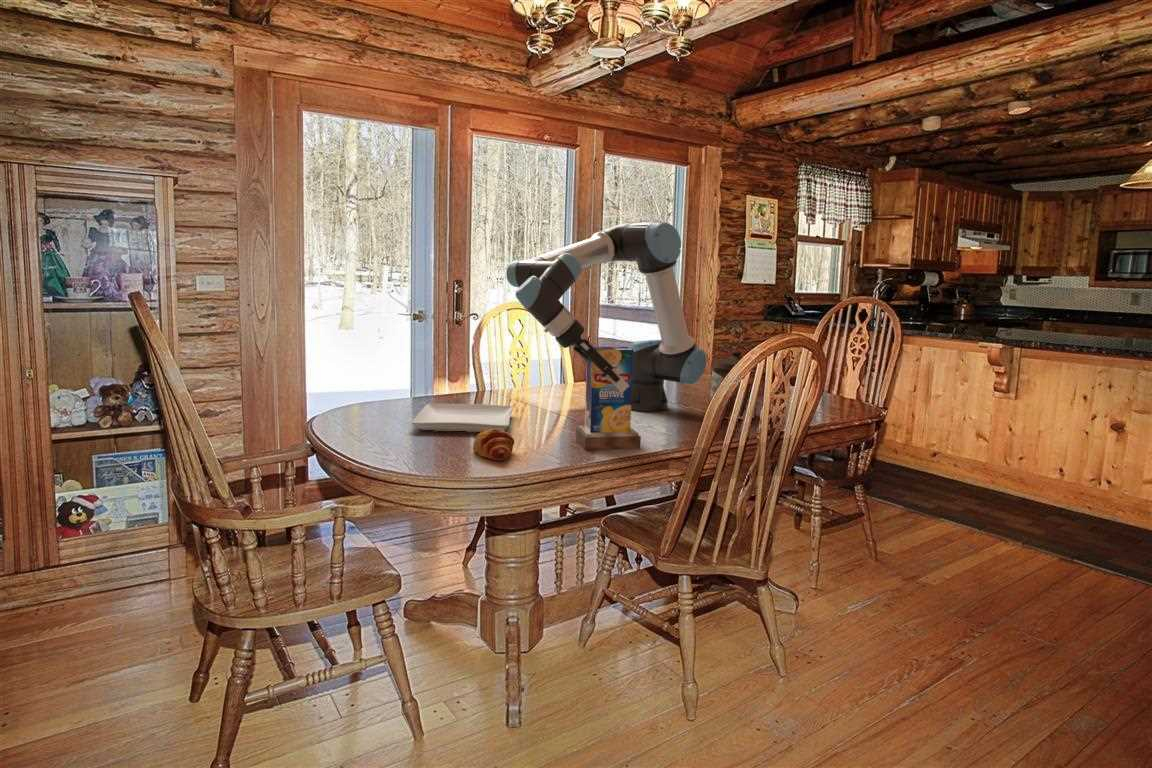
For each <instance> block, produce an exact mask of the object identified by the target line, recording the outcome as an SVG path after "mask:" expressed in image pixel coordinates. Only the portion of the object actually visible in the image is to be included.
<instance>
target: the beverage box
mask: <svg viewBox="0 0 1152 768" xmlns="http://www.w3.org/2000/svg"><path fill="white" fill-rule="evenodd" d="M593 347H594V348H595V350H596V351H597V352H598V353H599V354H600V355H601V356H602V357H603V358H604V359H605V360H606V361H607V362H608V363H609V364H610V365H612V366H613V369H614V370H615V371H616V372H617V373H618V374H619V375H620V376H621V377H622V378H623V379H624V381H625V382H626V383H627V384H628V385H629V387H628V388H627V389H626V390H625V391H624V392H623V393H621V392H620V391H619V390H618V389H617V388H616V387H615V386H614V384H613V383H612V382H611V381H610V380H609V379H608V378H607V377H606V376H605V377H603V376H602V374H603V372H602V371H601V370H600V369H599V368H598V367H597V366H596V365H595V364H594V363H593V362H591V361H590V360H587V363H586V374H585V375H586V376H585V377H586V378H585V405H584V407H585V408H584V426H585V428H586V429H587V430H588V431H589V432H590V433H607V432H630V427H631V419H632V418H631V417H632V416H631V415H632V410H631V398H632V375H633V352H634V350H633V349H631V347H627V346H593ZM607 367H608V366H607ZM607 367H606V368H607ZM606 368H605V369H606ZM605 369H604V370H605Z"/></svg>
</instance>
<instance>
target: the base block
mask: <svg viewBox="0 0 1152 768" xmlns="http://www.w3.org/2000/svg"><path fill="white" fill-rule="evenodd" d="M575 430H576V431H575V440H576V442H578V444H579V445H580V446H581V447H582V448H583V449H584V450H585V451H593V450H596V449H602V450H627V449H629V450H632V449H635V450H637V449H641V441H642V438H641V437H642V436H641V435H639V432H638V431H636V430H635V429H634V428H632V426H630V432H607V433H590V432H589V431H588V430H587V429H586V428H585V425H578V428H576V429H575Z"/></svg>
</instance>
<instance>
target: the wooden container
mask: <svg viewBox="0 0 1152 768" xmlns="http://www.w3.org/2000/svg"><path fill="white" fill-rule="evenodd" d="M730 354H731V355H730V356H729V357H728V358H727V357H726V358H724V357H723V358H714V359H712V366H711V367H712V369H711V371H712V372H711V384H710V396H709V397H710V400H711V398H712V397H713V395H714V393H715V392H716V390H717V388H718V386H719V385H720V384H721V382H722V380H723V379H724V377H725V376H726V374H727V373H728V372H729V371H730V370H731V369H732V367H733V366H734V365H735V364H736V363H737V362H738V361H739V360H740V359H741V358H742V359H743V357H742V356H741V355H742V351H741V350H740V349H737V348H733V349H731V351H730ZM749 387H750V382H749V384H748V387H747V391H746V395H745V398H744V401H743V405H742V409H741V412H740V417H741V416H743V413H744V410H745V407H746V404H747V399H748V394H749ZM734 397H735V394H734V395H733V396H732V398H731V399H730V401H729V403H728V404H727V406H726V410H725V416H726V417H729V414H730V412H731V409H732V406H733V402H734ZM710 400H709V401H710ZM756 412H757V407H756V408H755V414H754V417H755V418H756V416H755V415H756V414H757V413H756ZM725 416H724V417H725Z"/></svg>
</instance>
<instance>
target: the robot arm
mask: <svg viewBox="0 0 1152 768" xmlns="http://www.w3.org/2000/svg"><path fill="white" fill-rule="evenodd" d="M681 248H682V240H681V236H680V234H679V232H678V230H677V228H676V227H675V226H674V225H672V224H671V223H668V222H666V221H665V222H664V221H663V222H662V221H657V220H656V221H643V222H638V221H637V222H633V221H632V222H630V221H628V222H624V223H620V224H616V225H614V226H613V225H612V226H610V227H608V228H605V229H602V230H600V231H597V232H595V233H594V234H592V236H591V237H590V238H587V239H584V240H582V241H578V242H575V243H573V244H570V245H568V246H567V245H566V246H563V247H561V248H558V249H555V250H552V251H549V252H546V253H544V254H543V253H542V254H540V255H537V256H535V257H532V258H528V259H525V260H524V259H516V260H513V261H511V262H510V263H509V264H508V265H507V268H506V272H505V273H506V275H505V276H506V280H507V282H508V283H509V285H510V286H512V287H513V288H514V287H515V288H517V289H516V291H515V298H516V299H517V300H518V302H519V303H520V304H521V305H522V307H523V308H524V309H525V310H527V312H529V314H531V316H532V317H534V319H535V320H536V321H537V322H538V323H539V324H540V325H541V326H542V327H543V328H545V329H544V332H545V333H549V334H550V335H551V336H552V337H554V339H555V341H556V342H557V343H558V345H560V346H561V347H562V348H563V349H567V348H569V347H571V346H572V349H573V351H574V352H576V353H577V354H578V355H579V356H580V357H581V358H582V359H583V360H584V361H585V363H586V364H587V360H590V361H591V362H593V363H594V364H595V365H596V366H597V367H598V368H599V369H600V370H601V371H602V372H603V374H602V376H603V377H605V376H606V377H607V378H608V379H609V380H610V381H611V382H612V383H613V384H614V386H615V387H616V388H617V389H618V390H619V391H620V392H621V393H623V392H624V391H625V390H626V389H627V388H628V387H629V385H628V384H627V383H626V382H625V381H624V379H623V378H622V377H621V376H620V375H619V374H618V373H617V372H616V371H615V370H614V369H613V366H612V365H610V364H609V363H608V362H607V361H606V360H605V359H604V358H603V357H602V356H601V355H600V354H599V353H598V352H597V351H596V350H595V348H594V347H595V346H593V345H592V344H591V343H590V341H589V340H588V339H585V337H584V338H582V335H583V334H584V332H585V327H584V326H583V325H582V324H581V323H580V321H578V319H576V318H575V316H574V314H572V313H571V311H569V310H568V308H567V307H566V306H565V305H564V304H562V302H561V301H560V299H561V298H562V297H563V295H565V293H566V292H567V291H568V290H569V289H570V288H571V287H572V286H573V284H574V283H576V281H577V279H578V278H579V276H580V275H581V274H582V271H583V269H585V268H588V267H590V266H593V265H595V264H598V263H600V264H608V263H611V262H634V263H635V262H636V263H637V268H638V272H639V273H640V274H642V275H643V276H644V275H645V279H646V283H647V287H648V290H649V295H650V300H651V303H652V307H653V312H654V315H655V319H656V323H657V326H658V330H659V334H660V336H659V337H660V338H661V339H649V340H637V341H633V342H632V344H631V345H630V348H631V349H633V350H634V352H633V375H632V398H631V411H636V412H646V411H655V412H662V410H664V411H666V409H667V410H668V408H669V401H668V397H667V393H666V390H665V386H664V383H665V381H669V382H675V383H681V384H682V385H685V384H689V385H693V384H695V383H697V382H698V381H699V380H700V379H701V378H702V377H703V374H704V373H705V370H706V366H707V354H706V352H705V350H704V349H702V348H699V347H698V348H697V346H696V341H695V338H693V336H691V335H689V332H688V328H687V323H686V318H685V315H684V310H683V306H682V302H681V301H682V300H681V297H680V292H679V289H678V284H677V279H676V275H675V272H674V271H675V270H674V268H675V266H676V265H677V262H678V261H677V260H678V258H679V257H680V254H681ZM607 366H608V367H607ZM606 367H607V368H606ZM605 368H606V369H605ZM604 369H605V370H604Z"/></svg>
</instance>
